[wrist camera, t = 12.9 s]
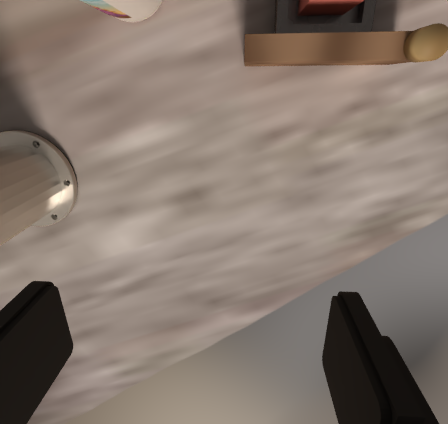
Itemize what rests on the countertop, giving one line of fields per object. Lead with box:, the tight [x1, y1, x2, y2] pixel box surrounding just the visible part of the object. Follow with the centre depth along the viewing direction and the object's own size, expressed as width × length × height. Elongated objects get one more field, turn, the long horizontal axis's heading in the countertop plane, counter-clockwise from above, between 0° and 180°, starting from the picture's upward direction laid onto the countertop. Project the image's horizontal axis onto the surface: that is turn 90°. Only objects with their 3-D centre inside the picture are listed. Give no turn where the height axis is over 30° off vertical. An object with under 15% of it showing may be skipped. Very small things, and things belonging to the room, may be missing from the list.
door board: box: [244, 24, 448, 66], centre depth 27 cm, size 15×2×10 cm, turn 91°
